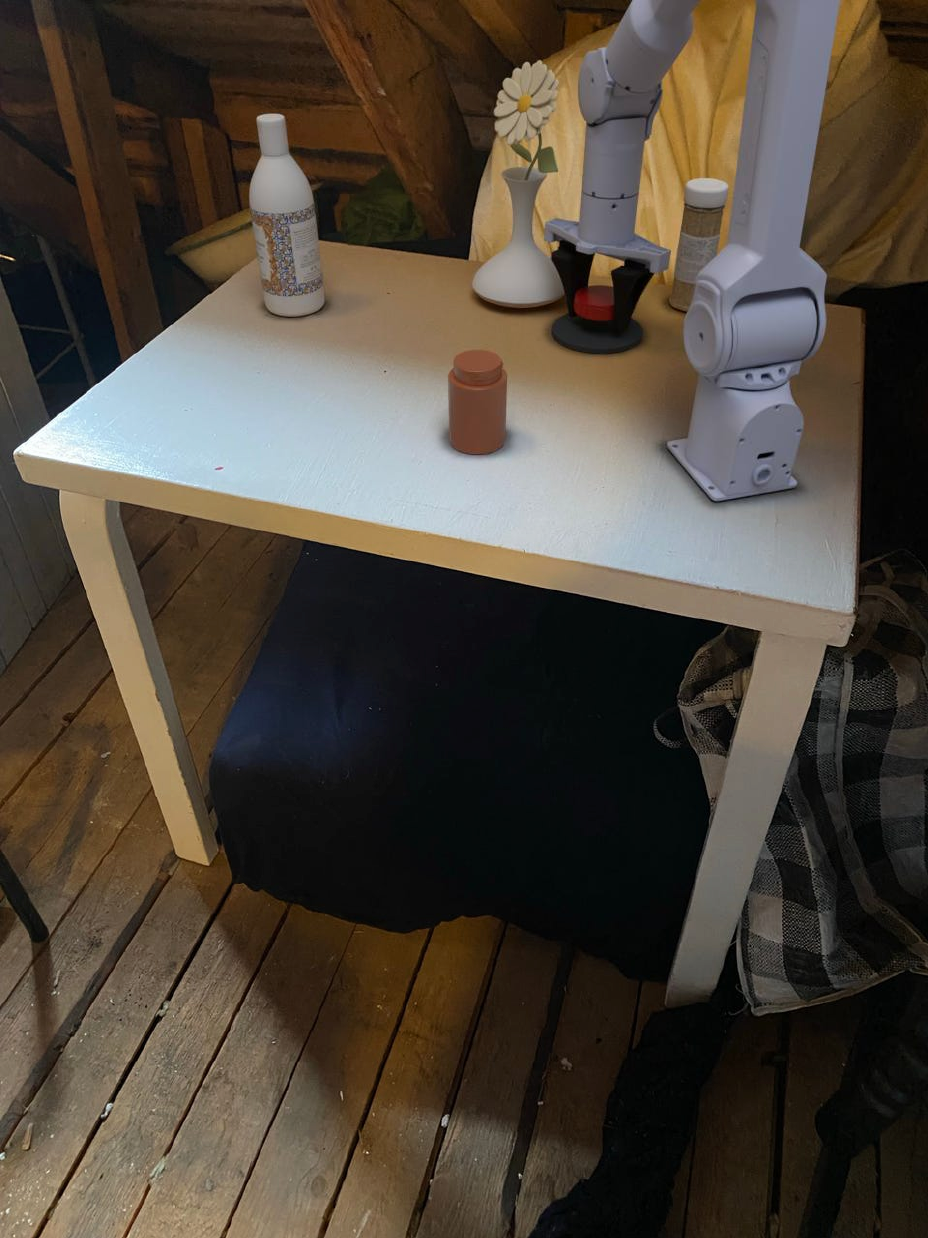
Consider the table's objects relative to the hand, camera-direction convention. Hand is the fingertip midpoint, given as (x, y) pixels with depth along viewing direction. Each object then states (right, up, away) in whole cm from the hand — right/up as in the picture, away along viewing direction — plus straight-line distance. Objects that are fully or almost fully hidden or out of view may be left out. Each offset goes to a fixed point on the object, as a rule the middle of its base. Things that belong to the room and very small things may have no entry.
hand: (598, 321), depth 101 cm
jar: (-13, -16, -16) cm, 26 cm away
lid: (0, +2, -2) cm, 3 cm away
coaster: (0, -1, +1) cm, 1 cm away
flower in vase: (-8, +5, +8) cm, 12 cm away
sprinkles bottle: (+11, +4, +7) cm, 14 cm away
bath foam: (-34, +4, +7) cm, 35 cm away
